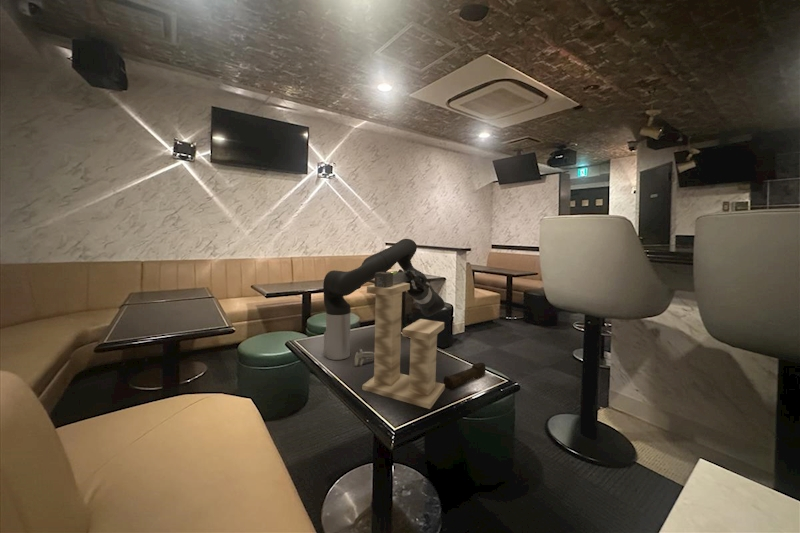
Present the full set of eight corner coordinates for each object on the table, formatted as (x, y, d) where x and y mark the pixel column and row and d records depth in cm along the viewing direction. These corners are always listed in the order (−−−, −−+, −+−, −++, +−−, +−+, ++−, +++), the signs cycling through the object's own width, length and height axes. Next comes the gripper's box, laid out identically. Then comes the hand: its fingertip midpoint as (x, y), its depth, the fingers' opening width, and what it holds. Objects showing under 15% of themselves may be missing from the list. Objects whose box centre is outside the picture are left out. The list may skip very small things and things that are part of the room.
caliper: (355, 367, 110) (356, 350, 109) (354, 366, 111) (354, 349, 110) (400, 355, 122) (401, 340, 122) (399, 354, 123) (399, 339, 122)
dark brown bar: (451, 391, 94) (452, 377, 94) (442, 386, 97) (443, 372, 97) (491, 377, 105) (492, 364, 105) (482, 373, 108) (483, 360, 108)
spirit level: (374, 286, 90) (374, 272, 90) (406, 278, 110) (406, 267, 109) (386, 287, 88) (386, 274, 88) (416, 279, 108) (416, 268, 108)
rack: (362, 389, 93) (363, 285, 90) (383, 373, 105) (385, 281, 102) (429, 409, 84) (434, 293, 81) (444, 388, 95) (449, 287, 92)
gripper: (405, 280, 121) (388, 261, 107) (439, 283, 115) (425, 263, 101) (401, 298, 119) (382, 280, 104) (435, 302, 112) (420, 284, 98)
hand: (403, 272), depth 103 cm, fingers closed on spirit level, 2 cm apart
